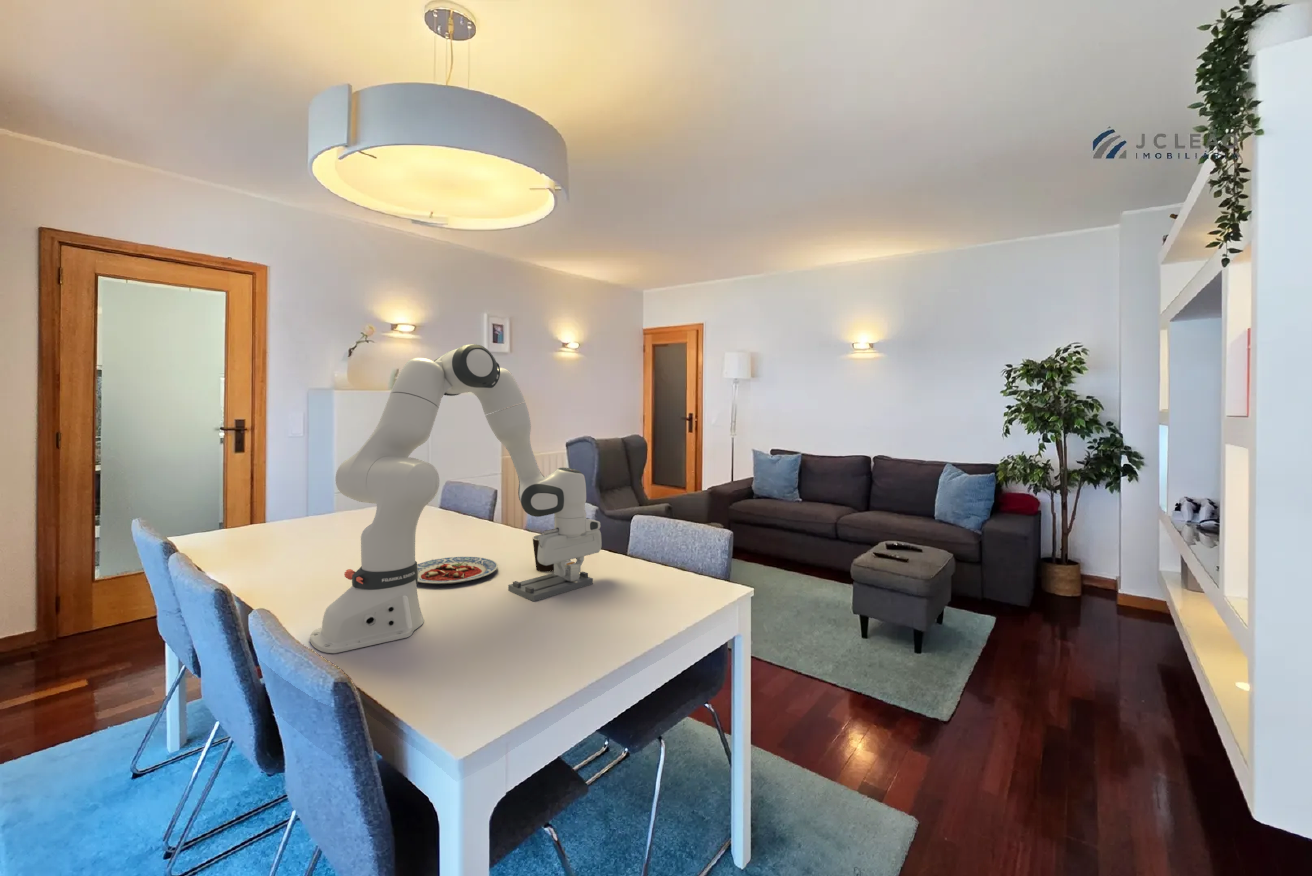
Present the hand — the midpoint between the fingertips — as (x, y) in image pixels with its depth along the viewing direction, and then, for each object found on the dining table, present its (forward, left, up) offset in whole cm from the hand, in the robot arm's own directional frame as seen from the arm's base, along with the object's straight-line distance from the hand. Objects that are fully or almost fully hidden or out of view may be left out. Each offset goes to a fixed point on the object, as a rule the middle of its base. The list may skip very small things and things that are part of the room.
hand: (570, 574), depth 154 cm
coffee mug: (+6, +17, -4) cm, 18 cm away
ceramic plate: (-18, +33, -4) cm, 38 cm away
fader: (0, 0, -1) cm, 1 cm away
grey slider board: (-4, +3, -3) cm, 6 cm away
